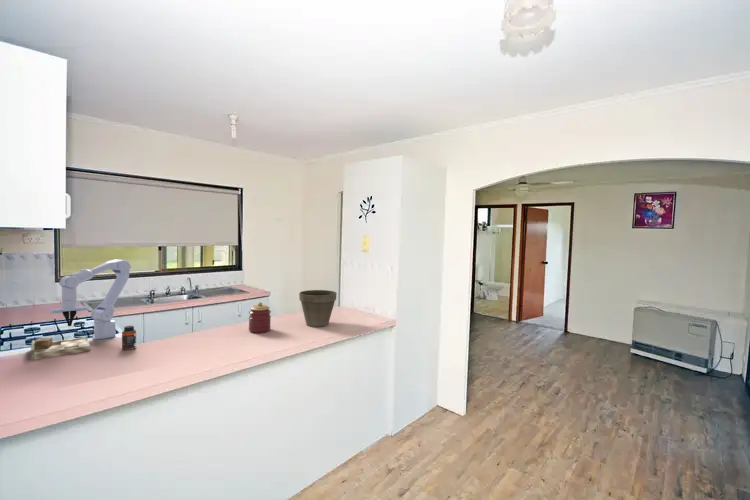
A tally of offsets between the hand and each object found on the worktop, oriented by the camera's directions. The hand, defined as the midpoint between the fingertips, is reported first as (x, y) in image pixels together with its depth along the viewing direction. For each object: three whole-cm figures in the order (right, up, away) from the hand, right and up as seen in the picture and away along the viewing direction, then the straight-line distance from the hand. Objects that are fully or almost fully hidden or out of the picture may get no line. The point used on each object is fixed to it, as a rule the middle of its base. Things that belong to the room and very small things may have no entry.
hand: (69, 325), depth 183 cm
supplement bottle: (+32, -11, -2) cm, 34 cm away
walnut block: (-4, -8, -10) cm, 14 cm away
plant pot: (+118, -11, +56) cm, 132 cm away
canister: (+86, -11, +37) cm, 94 cm away
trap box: (+3, -10, -7) cm, 13 cm away
